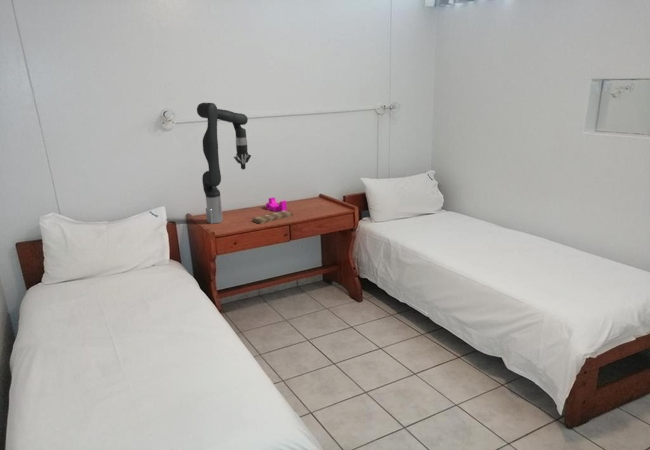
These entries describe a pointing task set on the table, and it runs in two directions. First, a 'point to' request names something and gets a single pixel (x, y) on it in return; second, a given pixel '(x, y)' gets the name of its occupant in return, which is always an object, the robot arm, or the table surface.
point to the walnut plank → (272, 217)
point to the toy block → (276, 205)
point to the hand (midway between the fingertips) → (243, 169)
